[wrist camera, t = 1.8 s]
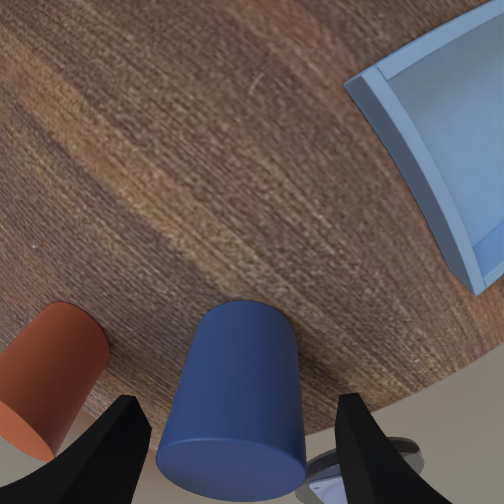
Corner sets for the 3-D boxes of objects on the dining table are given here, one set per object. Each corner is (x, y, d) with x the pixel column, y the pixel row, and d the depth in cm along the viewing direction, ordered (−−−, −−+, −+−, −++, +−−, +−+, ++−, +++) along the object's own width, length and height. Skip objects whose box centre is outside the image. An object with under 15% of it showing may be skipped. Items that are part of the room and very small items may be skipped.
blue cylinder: (308, 362, 14) (323, 491, 8) (223, 385, 15) (202, 505, 9) (274, 284, 13) (275, 426, 6) (178, 317, 14) (125, 445, 7)
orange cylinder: (125, 361, 15) (73, 466, 9) (74, 373, 16) (22, 457, 10) (77, 291, 14) (-7, 384, 7) (30, 313, 15) (-41, 389, 8)
